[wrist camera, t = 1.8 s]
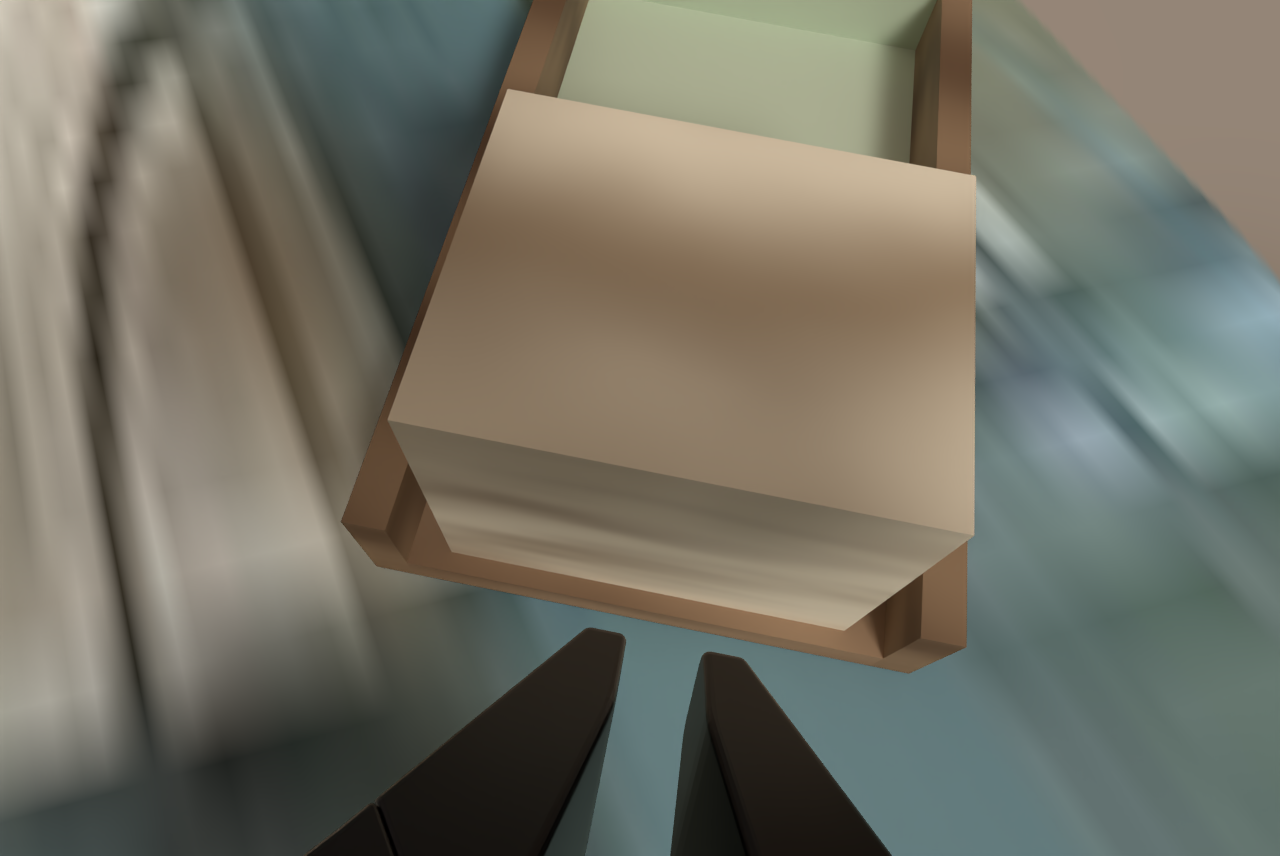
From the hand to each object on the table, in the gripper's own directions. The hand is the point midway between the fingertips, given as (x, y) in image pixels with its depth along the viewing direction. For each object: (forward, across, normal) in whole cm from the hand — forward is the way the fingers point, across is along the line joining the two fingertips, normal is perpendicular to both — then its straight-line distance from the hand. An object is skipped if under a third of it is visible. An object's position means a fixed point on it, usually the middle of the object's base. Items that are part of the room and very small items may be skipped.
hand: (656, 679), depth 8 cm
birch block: (+14, 0, +3) cm, 14 cm away
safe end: (+24, 0, -6) cm, 25 cm away
